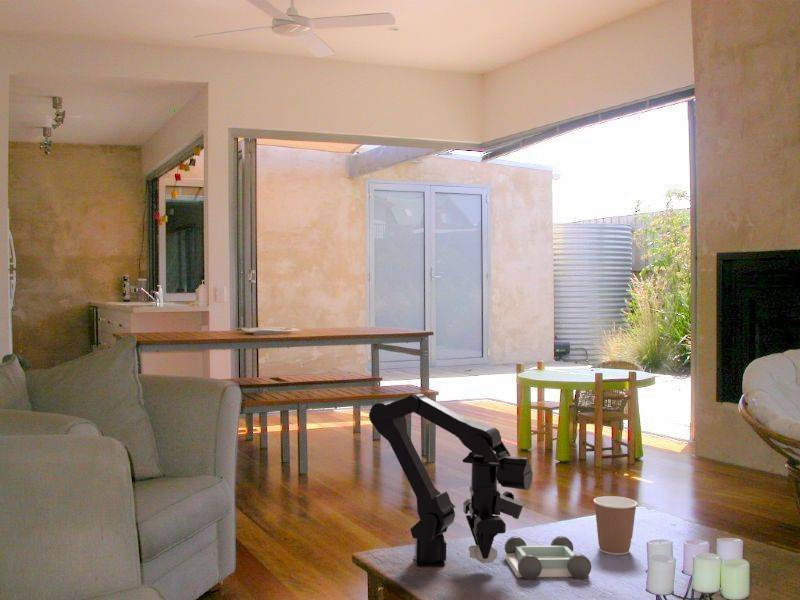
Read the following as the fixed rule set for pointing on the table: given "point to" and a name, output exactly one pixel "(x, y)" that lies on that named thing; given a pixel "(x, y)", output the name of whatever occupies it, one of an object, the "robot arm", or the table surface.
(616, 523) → the coffee cup
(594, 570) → the table surface
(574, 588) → the table surface
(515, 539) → the toy chassis
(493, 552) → the white figurine
